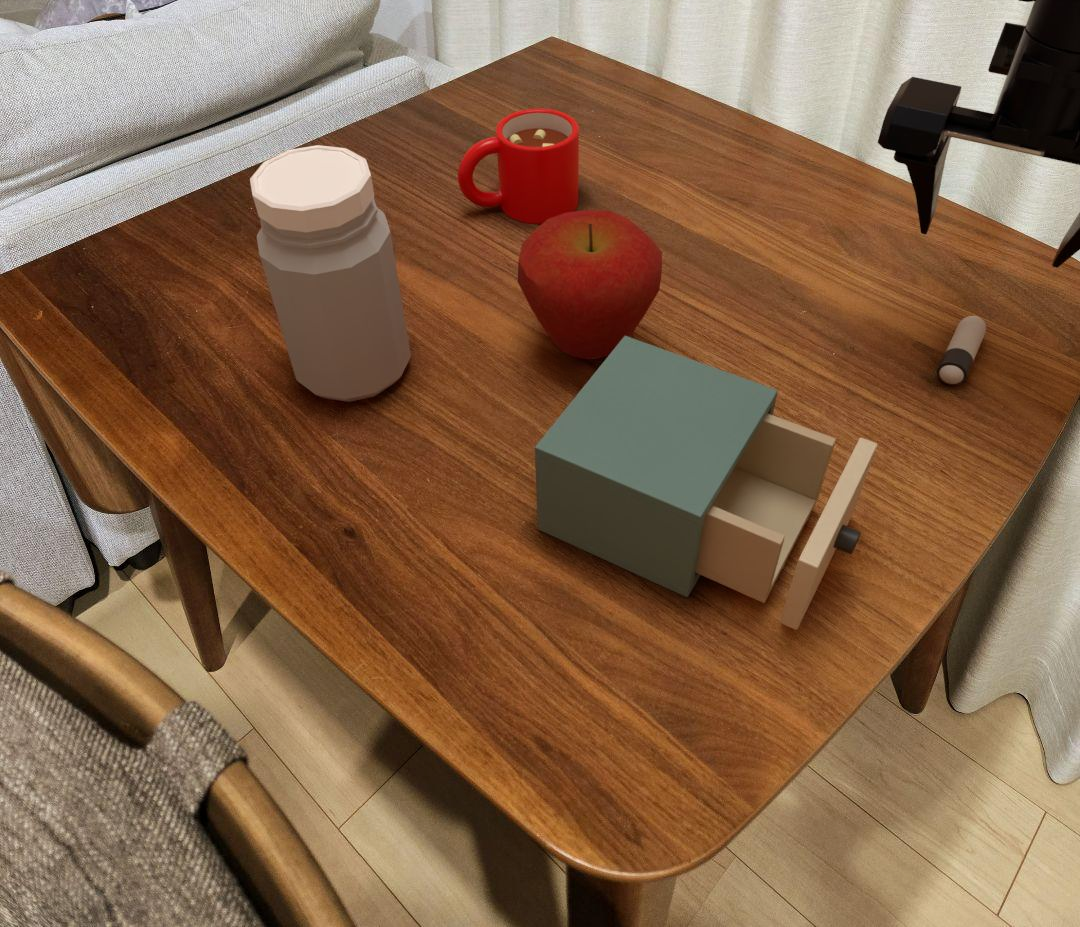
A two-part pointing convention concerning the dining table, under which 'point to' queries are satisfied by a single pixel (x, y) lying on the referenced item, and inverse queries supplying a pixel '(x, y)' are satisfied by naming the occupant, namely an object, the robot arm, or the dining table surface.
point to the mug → (528, 166)
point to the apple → (589, 279)
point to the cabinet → (645, 459)
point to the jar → (331, 271)
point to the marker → (961, 351)
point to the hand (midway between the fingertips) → (988, 247)
